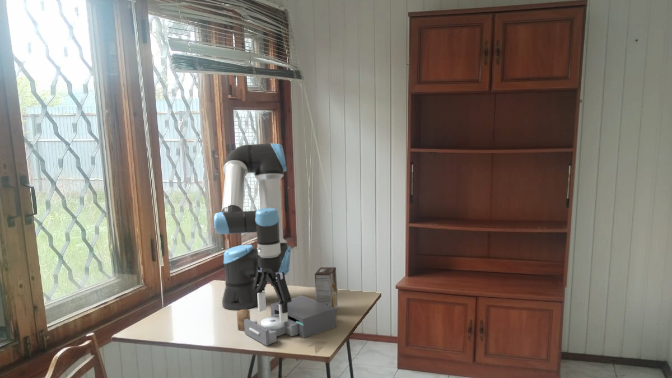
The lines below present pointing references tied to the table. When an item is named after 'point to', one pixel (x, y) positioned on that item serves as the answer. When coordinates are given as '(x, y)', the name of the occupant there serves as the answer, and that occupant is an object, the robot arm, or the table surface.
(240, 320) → the brown rounded peg
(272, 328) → the lid
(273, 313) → the housing
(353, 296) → the table surface
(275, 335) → the grey drawer
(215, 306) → the table surface
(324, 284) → the coffee box
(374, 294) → the table surface
